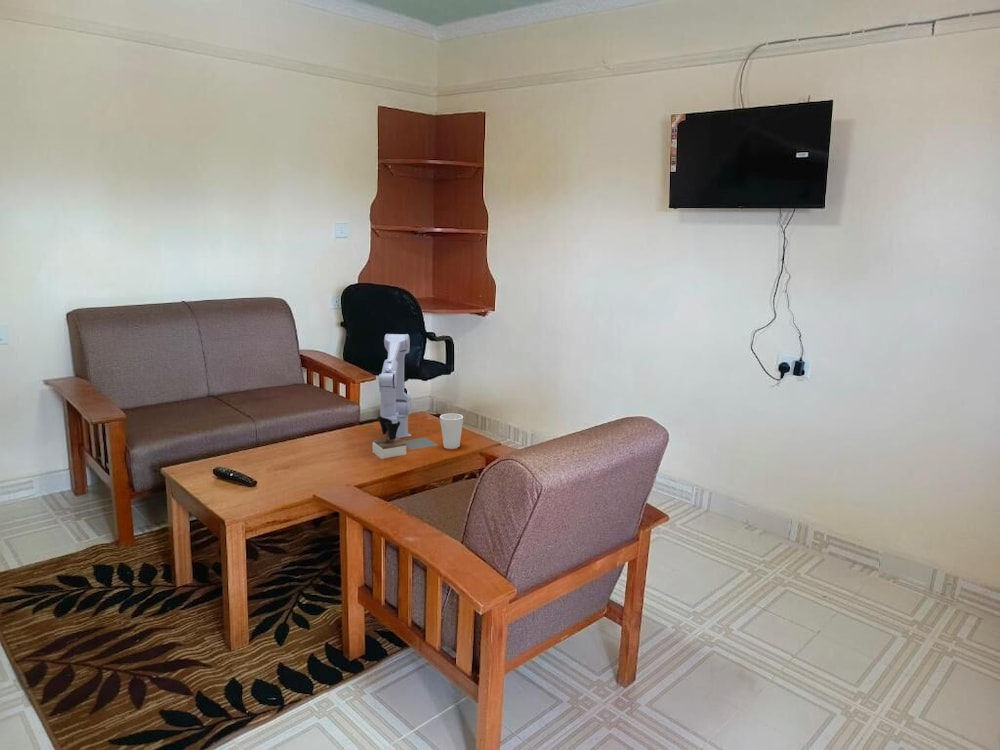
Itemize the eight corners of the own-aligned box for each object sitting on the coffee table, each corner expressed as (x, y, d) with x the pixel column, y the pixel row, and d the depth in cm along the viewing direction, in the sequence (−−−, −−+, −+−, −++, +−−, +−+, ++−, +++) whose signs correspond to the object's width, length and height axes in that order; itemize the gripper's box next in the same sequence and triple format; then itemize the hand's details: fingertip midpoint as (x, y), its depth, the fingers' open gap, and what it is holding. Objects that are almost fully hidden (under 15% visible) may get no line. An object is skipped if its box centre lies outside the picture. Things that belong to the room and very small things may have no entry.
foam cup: (464, 444, 291) (464, 414, 288) (461, 451, 282) (461, 420, 279) (442, 443, 291) (441, 413, 289) (437, 450, 282) (437, 419, 280)
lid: (374, 442, 279) (374, 430, 278) (397, 438, 284) (396, 427, 282) (383, 449, 271) (382, 436, 270) (406, 445, 275) (405, 433, 274)
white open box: (372, 452, 280) (372, 442, 279) (396, 448, 285) (395, 438, 284) (382, 459, 271) (382, 449, 270) (406, 455, 276) (406, 445, 275)
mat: (399, 442, 292) (399, 441, 292) (425, 438, 298) (425, 437, 298) (411, 450, 282) (411, 449, 282) (438, 446, 288) (438, 445, 288)
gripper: (404, 406, 269) (405, 440, 272) (391, 397, 281) (392, 430, 284) (387, 408, 266) (387, 442, 269) (374, 399, 278) (375, 432, 281)
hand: (389, 436), depth 276 cm, fingers open, 7 cm apart
